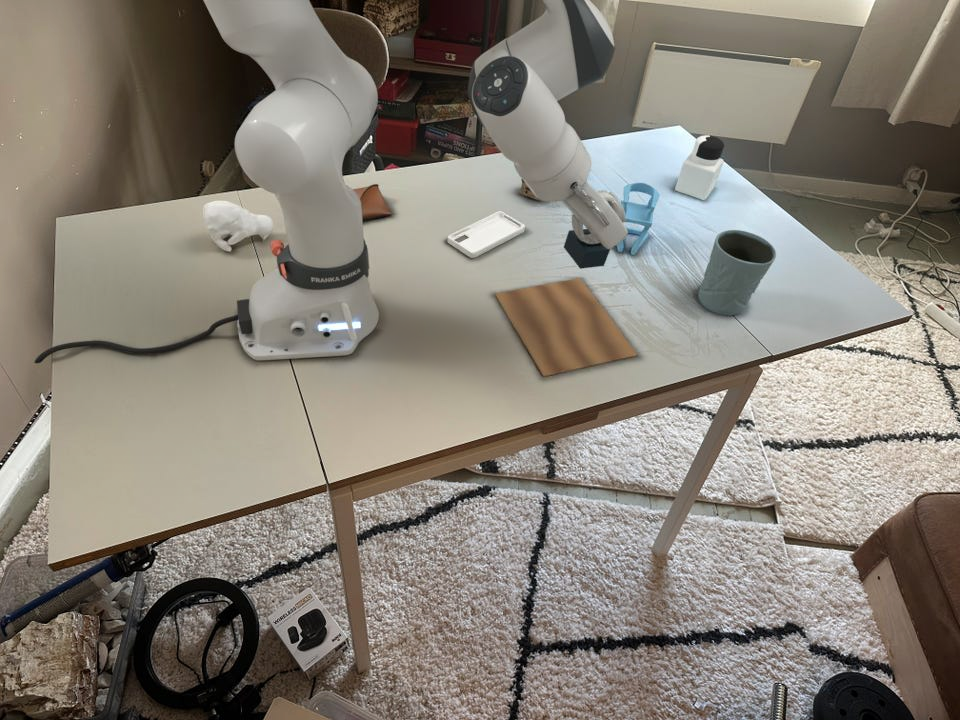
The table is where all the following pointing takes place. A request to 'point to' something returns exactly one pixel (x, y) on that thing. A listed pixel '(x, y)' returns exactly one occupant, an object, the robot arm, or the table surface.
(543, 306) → the wooden board
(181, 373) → the table surface
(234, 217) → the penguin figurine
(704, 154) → the medicine bottle
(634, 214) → the chair
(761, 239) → the grey-green cylindrical cup
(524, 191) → the mechanical counter
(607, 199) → the watch
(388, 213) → the sunglasses case
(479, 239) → the phone case
